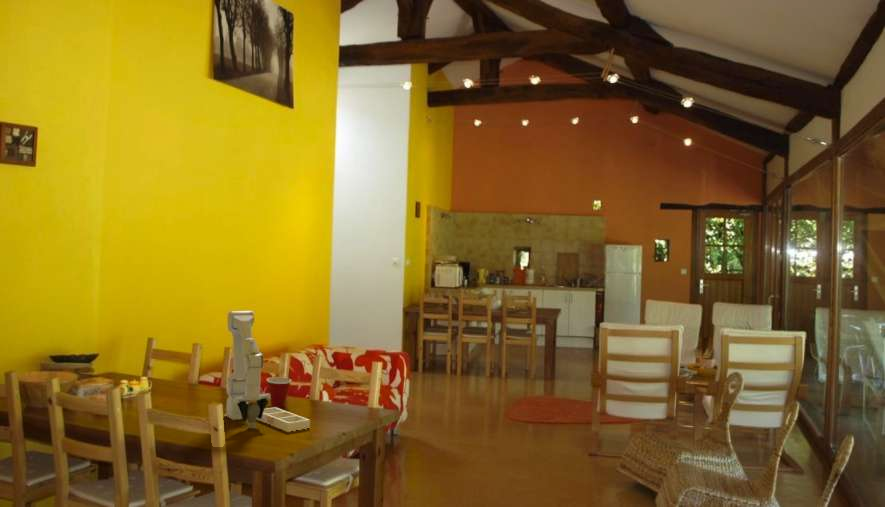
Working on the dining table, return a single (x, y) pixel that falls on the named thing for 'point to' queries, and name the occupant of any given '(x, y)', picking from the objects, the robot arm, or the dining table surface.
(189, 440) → the dining table surface
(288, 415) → the rack
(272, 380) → the plastic cup
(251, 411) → the light bulb
